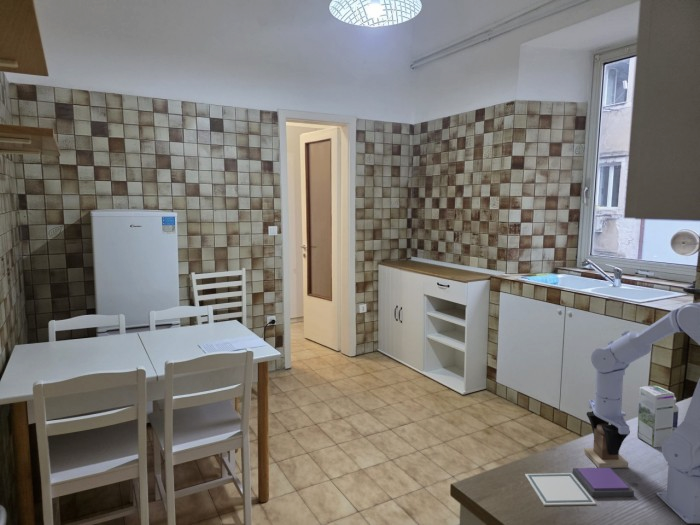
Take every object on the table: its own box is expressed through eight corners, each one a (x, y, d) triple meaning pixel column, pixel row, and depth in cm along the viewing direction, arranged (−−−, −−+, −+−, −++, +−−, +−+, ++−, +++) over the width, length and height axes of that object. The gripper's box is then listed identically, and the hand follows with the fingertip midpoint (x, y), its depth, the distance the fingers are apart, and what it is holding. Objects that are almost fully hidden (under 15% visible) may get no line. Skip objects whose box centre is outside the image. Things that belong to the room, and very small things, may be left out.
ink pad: (633, 496, 99) (634, 489, 99) (592, 497, 99) (592, 490, 99) (610, 472, 108) (610, 466, 108) (572, 473, 108) (572, 466, 108)
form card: (596, 504, 97) (596, 502, 97) (544, 505, 97) (544, 503, 97) (571, 474, 108) (571, 472, 108) (524, 475, 108) (524, 473, 108)
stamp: (628, 468, 110) (629, 434, 108) (598, 469, 110) (600, 435, 109) (611, 453, 116) (613, 420, 115) (584, 453, 117) (585, 421, 116)
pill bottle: (681, 434, 124) (684, 400, 123) (661, 435, 125) (663, 401, 123) (668, 425, 130) (670, 392, 129) (649, 425, 130) (651, 392, 129)
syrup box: (672, 445, 119) (676, 392, 117) (652, 448, 118) (656, 394, 116) (654, 435, 125) (658, 384, 123) (635, 437, 124) (638, 386, 122)
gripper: (643, 407, 104) (640, 463, 105) (608, 383, 118) (606, 432, 120) (612, 408, 104) (610, 464, 105) (581, 383, 118) (579, 433, 120)
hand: (606, 447), depth 113 cm, fingers open, 5 cm apart
